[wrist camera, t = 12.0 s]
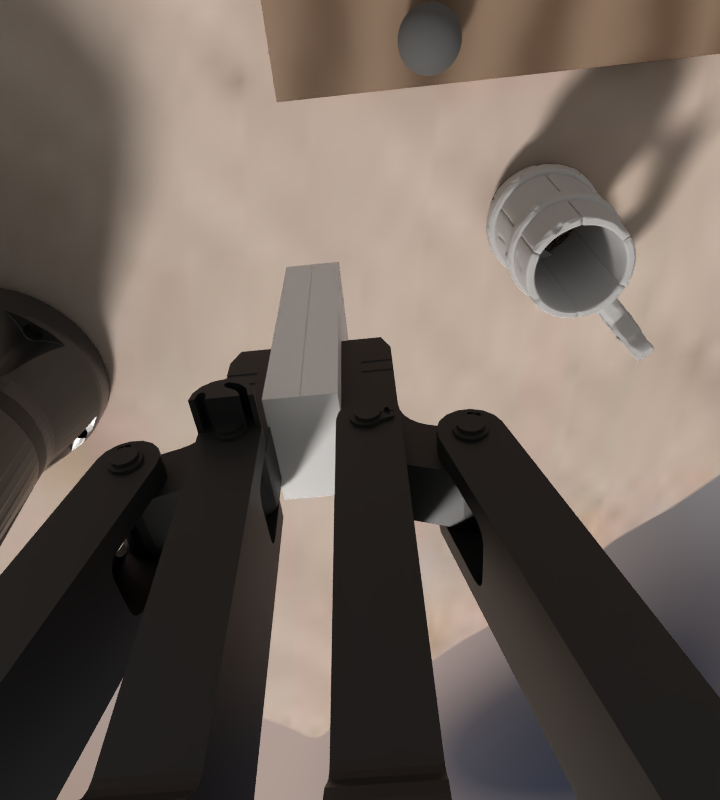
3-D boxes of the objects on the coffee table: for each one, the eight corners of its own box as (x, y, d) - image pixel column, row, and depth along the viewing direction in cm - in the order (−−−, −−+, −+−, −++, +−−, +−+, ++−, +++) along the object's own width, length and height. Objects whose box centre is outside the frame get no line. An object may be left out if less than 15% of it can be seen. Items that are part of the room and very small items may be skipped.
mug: (552, 132, 40) (620, 185, 30) (639, 256, 45) (721, 335, 35) (460, 212, 43) (495, 283, 33) (551, 320, 48) (605, 409, 38)
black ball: (397, 74, 36) (402, 83, 33) (393, 3, 34) (398, 6, 31) (456, 68, 36) (466, 76, 33) (456, -4, 34) (467, -2, 31)
